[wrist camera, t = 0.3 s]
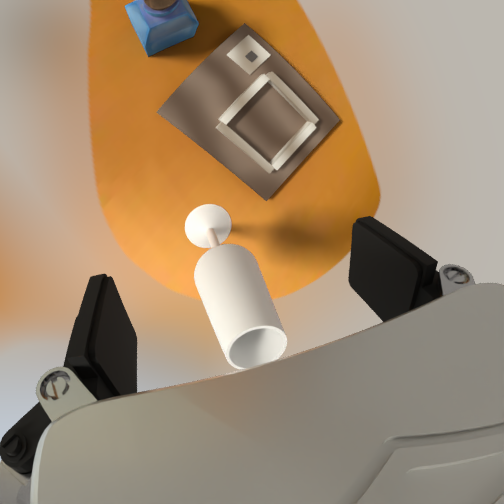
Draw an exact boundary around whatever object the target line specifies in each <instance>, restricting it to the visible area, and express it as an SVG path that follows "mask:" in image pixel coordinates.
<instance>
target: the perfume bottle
mask: <svg viewBox="0 0 504 504" xmlns="http://www.w3.org/2000/svg"><path fill="white" fill-rule="evenodd" d="M125 8H126V11H127V13H128V16H129V19H130V21H131V23H132V25H133V27H134V29H135V31H136V33H137V35H138V37H139V39H140V41H141V43H142V45H143V47H144V49H145V51H146V53H147V55H148V57H149V56H151V55H153V54H155V53H157V52H160V51H162V50H164V49H166V48H168V47H170V46H173V45H175V44H177V43H179V42H182V41H184V40H187V39H189V38H191V37H194V35H195V32H196V30H197V27H198V25H199V23H198V21H197V19H196V17H195V15H194V13H193V11H192V9H191V7H190V5H189V3H188V1H187V0H136V1H134V2H132V3H129V4H127V5H125Z"/></svg>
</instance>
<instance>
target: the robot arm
mask: <svg viewBox="0 0 504 504" xmlns="http://www.w3.org/2000/svg"><path fill="white" fill-rule="evenodd" d="M437 263H438V261H436V260H435V259H433V258H432V257H431V256H429V255H428V254H426V253H425V252H424V251H422V250H420V249H419V248H418V247H416V246H415V245H414V244H412V243H411V242H409V241H408V240H406V239H405V238H403V237H402V236H400V235H399V234H397V233H396V232H394V231H393V230H391V229H390V228H388V227H387V226H385V225H384V224H382V223H380V222H379V221H378V220H376V219H374V218H373V217H371V216H368V217H363V218H358V219H357V220H356V222H355V223H354V224H353V229H352V244H351V257H350V269H349V283H350V286H351V287H352V288H353V289H354V290H355V292H357V294H358V295H359V296H360V297H361V298H362V299H363V300H364V301H365V302H366V303H367V304H368V305H369V307H370V308H371V309H372V310H373V311H374V312H375V313H376V314H377V315H378V316H379V317H380V319H381V320H382V321H383V323H380V324H378V325H375V326H373V327H370V328H368V329H365V330H362V331H360V332H357V333H354V334H352V335H349V336H346V337H344V338H341V339H338V340H335V341H333V342H330V343H327V344H324V345H321V346H318V347H315V348H312V349H309V350H306V351H303V352H300V353H297V354H294V355H291V356H288V357H284V358H281V359H277V360H274V361H271V362H267V363H264V364H260V365H257V366H253V367H250V368H246V369H242V370H239V371H235V372H231V373H227V374H223V375H219V376H215V377H210V378H206V379H202V380H197V381H193V382H188V383H183V384H179V385H174V386H169V387H164V388H159V389H153V390H148V391H143V392H138V393H137V336H136V333H135V330H134V328H133V326H132V324H131V321H130V319H129V317H128V315H127V312H126V310H125V308H124V305H123V303H122V300H121V298H120V296H119V293H118V291H117V288H116V285H115V283H114V280H113V278H112V277H111V276H110V277H107V275H106V274H101V275H96V276H92V277H90V279H89V282H88V285H87V288H86V291H85V294H84V297H83V301H82V304H81V307H80V310H79V314H78V316H77V317H76V320H75V323H74V327H73V330H72V334H71V338H70V341H69V345H68V349H67V354H66V357H65V362H64V366H63V367H56V368H53V369H51V370H49V371H47V372H46V373H45V374H44V375H43V376H42V377H41V378H40V380H39V381H38V384H37V387H36V395H37V397H38V400H39V402H38V404H36V405H35V406H34V407H33V408H32V409H31V410H30V411H29V412H28V413H27V414H25V415H24V416H23V417H22V418H21V419H20V420H19V421H18V422H17V423H16V424H15V425H14V426H13V427H12V428H11V429H9V430H8V432H7V433H6V434H5V435H4V436H3V438H2V440H1V442H0V456H1V459H2V460H1V462H0V504H504V285H502V284H497V283H479V284H475V282H474V279H473V276H472V275H471V274H470V272H468V270H466V269H465V268H463V267H460V266H457V265H451V264H448V265H444V266H442V267H441V268H440V270H439V272H438V271H436V267H437Z"/></svg>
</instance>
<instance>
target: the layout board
mask: <svg viewBox="0 0 504 504" xmlns="http://www.w3.org/2000/svg"><path fill="white" fill-rule="evenodd" d="M157 113H158V114H159V115H161V116H162V117H163V118H165V119H166V120H167V121H169V122H170V123H171V124H172V125H174V126H175V127H176V128H178V129H179V130H180V131H181V132H183V133H184V134H185V135H187V136H188V137H189V138H190V139H192V140H193V141H194V142H195V143H197V144H198V145H199V146H200V147H202V148H203V149H204V150H205V151H207V152H208V153H209V154H210V155H212V156H213V157H214V158H215V159H217V160H218V161H219V162H220V163H221V164H223V165H224V166H225V167H226V168H228V169H229V170H230V171H231V172H232V173H234V174H235V175H236V176H237V177H238V178H240V179H241V180H242V181H243V182H244V183H246V184H247V185H248V186H249V187H250V188H251V189H253V190H254V191H255V192H256V193H257V194H259V195H260V196H261V197H262V198H263V199H264V200H266V201H267V200H268V199H269V198H270V197H271V196H272V194H273V193H274V192H275V191H276V190H277V189H278V188H279V187H280V186H281V184H282V183H283V182H284V181H285V180H286V179H287V178H288V177H289V175H290V174H291V173H292V172H293V171H294V170H295V169H296V168H297V167H298V165H299V164H300V163H301V162H302V161H303V160H304V159H305V158H306V157H307V156H308V154H309V153H310V152H311V151H312V150H313V149H314V148H315V147H316V146H317V145H318V143H319V142H320V141H321V140H322V139H323V138H324V137H325V136H326V135H327V134H328V133H329V131H330V130H331V129H332V128H333V127H334V126H335V125H336V124H337V123H338V122H339V121H340V119H339V118H338V117H337V116H336V115H335V113H334V112H333V111H332V110H331V109H330V108H329V106H328V105H327V104H326V103H325V102H324V101H323V100H322V98H321V97H320V96H319V95H318V94H317V93H316V92H315V91H314V89H313V88H312V87H311V86H310V85H309V84H308V83H307V82H306V81H305V80H304V79H303V78H302V77H301V76H300V75H299V74H298V73H297V71H296V70H295V69H294V68H293V67H292V66H291V65H290V64H289V63H288V62H287V61H286V60H285V59H284V58H283V57H281V56H280V55H279V54H278V53H277V52H276V51H275V50H274V49H273V48H272V47H271V46H270V45H269V44H268V43H267V42H266V41H264V40H263V39H262V38H261V37H260V36H259V35H258V34H257V33H256V32H254V31H253V30H252V29H251V28H250V27H249V26H247V25H246V24H245V23H244V24H243V25H242V26H241V27H240V28H239V29H237V30H236V31H235V32H234V33H233V34H232V35H231V36H230V37H228V38H227V39H226V40H225V41H224V42H223V43H222V44H221V45H220V46H219V47H218V48H216V49H215V50H214V51H213V52H212V53H211V54H210V55H209V56H208V57H207V58H206V59H205V60H204V61H203V62H202V63H201V64H200V65H199V66H198V67H197V68H196V69H195V70H194V71H193V72H192V73H191V74H190V75H189V76H188V77H187V79H186V80H185V81H184V82H183V83H182V84H181V85H180V86H179V87H178V88H177V89H176V90H175V92H174V93H173V94H172V95H171V96H170V97H169V98H168V100H167V101H166V102H165V103H164V104H163V105H162V106H161V108H160V109H159V110H158V111H157Z"/></svg>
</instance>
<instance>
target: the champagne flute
mask: <svg viewBox="0 0 504 504" xmlns="http://www.w3.org/2000/svg"><path fill="white" fill-rule="evenodd" d="M230 231H231V219H230V216H229V214H228V213H227V212H226V210H225V209H223V208H222V207H220V206H218V205H214V204H206V205H202V206H199V207H197V208H196V209H194V210H193V211H192V212H191V213H190V214H189V216H188V217H187V219H186V223H185V232H186V235H187V237H188V239H189V240H190V241H191V242H192V243H193V244H195V245H196V246H199V247H203V248H211V249H210V250H208V251H207V252H206V253H204V254H203V255H202V257H201V258H200V259H199V261H198V263H197V265H196V268H195V272H194V279H195V284H196V286H197V289H198V292H199V294H200V297H201V299H202V302H203V304H204V307H205V309H206V311H207V314H208V316H209V319H210V321H211V324H212V326H213V328H214V331H215V333H216V335H217V338H218V340H219V343H220V345H221V347H222V350H223V352H224V354H225V356H226V359H227V361H228V362H229V363H230V365H232V366H233V367H235V368H237V369H241V370H242V369H246V368H250V367H253V366H257V365H260V364H264V363H267V362H271V361H274V360H277V359H278V358H279V357H280V356H281V355H282V353H283V352H284V350H285V348H286V345H287V338H286V335H285V332H284V330H283V327H282V325H281V322H280V319H279V317H278V314H277V312H276V309H275V307H274V304H273V302H272V299H271V296H270V294H269V291H268V289H267V286H266V284H265V281H264V279H263V276H262V274H261V271H260V268H259V266H258V263H257V261H256V259H255V257H254V256H253V254H252V253H251V252H250V251H248V250H247V249H245V248H244V247H242V246H239V245H235V244H222V245H220V244H221V243H222V242H223V241H225V240H226V238H227V237H228V235H229V234H230Z"/></svg>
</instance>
